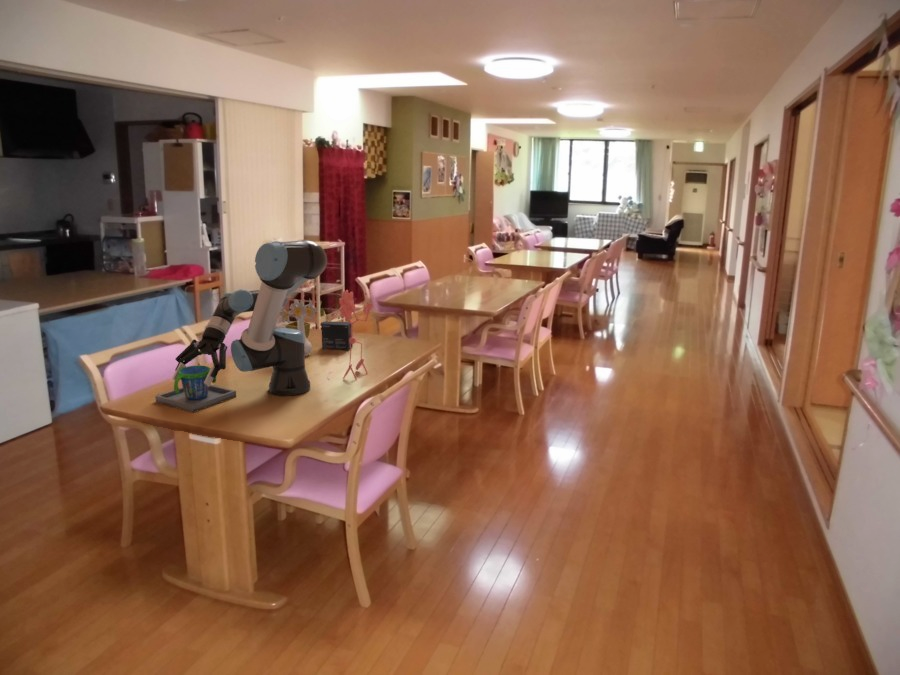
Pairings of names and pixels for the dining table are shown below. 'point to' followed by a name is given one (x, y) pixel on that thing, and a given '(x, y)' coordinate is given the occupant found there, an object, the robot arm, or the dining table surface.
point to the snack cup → (193, 381)
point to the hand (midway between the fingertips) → (190, 382)
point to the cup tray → (182, 402)
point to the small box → (336, 335)
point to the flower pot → (295, 326)
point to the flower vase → (300, 318)
